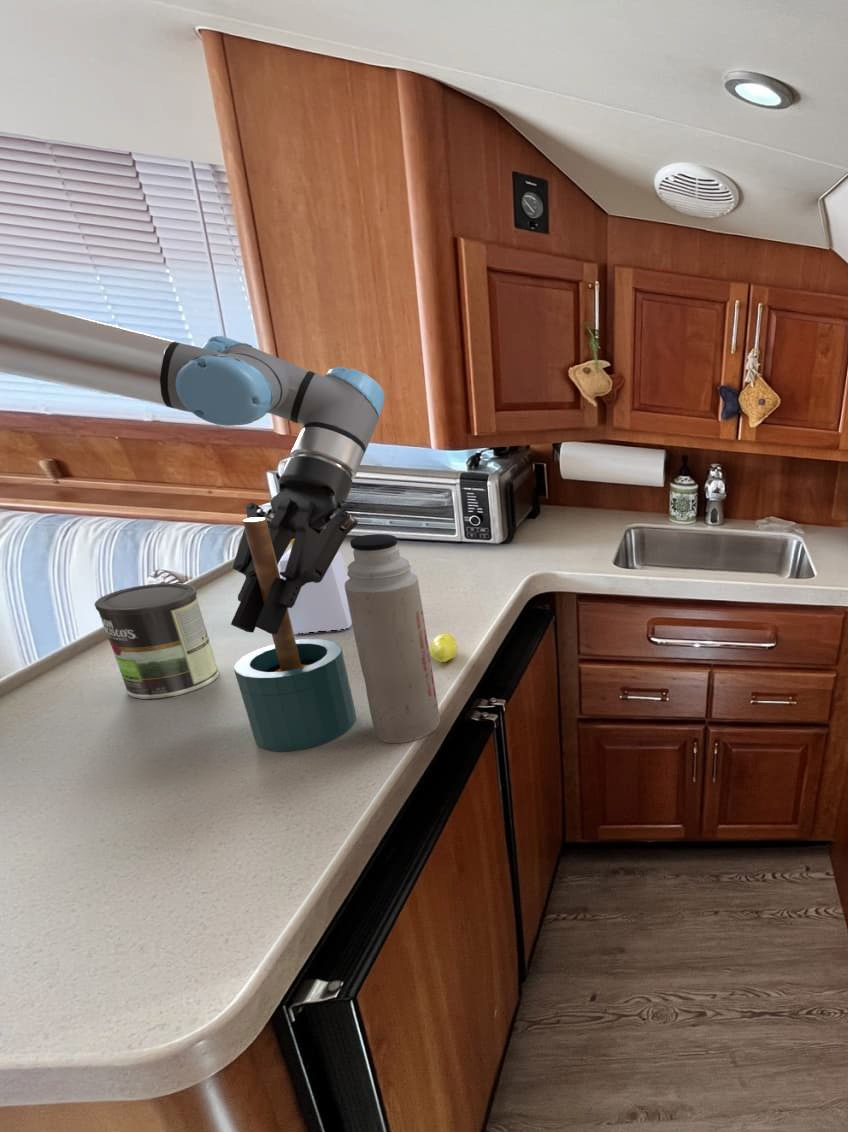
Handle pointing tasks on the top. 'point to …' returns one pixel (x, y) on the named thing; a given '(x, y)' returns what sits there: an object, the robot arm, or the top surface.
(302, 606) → the soap bottle
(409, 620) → the thermos bottle
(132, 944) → the top surface
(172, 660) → the coffee can
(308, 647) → the teal ring pot
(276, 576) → the wooden peg with base
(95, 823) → the top surface
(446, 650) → the lemon
